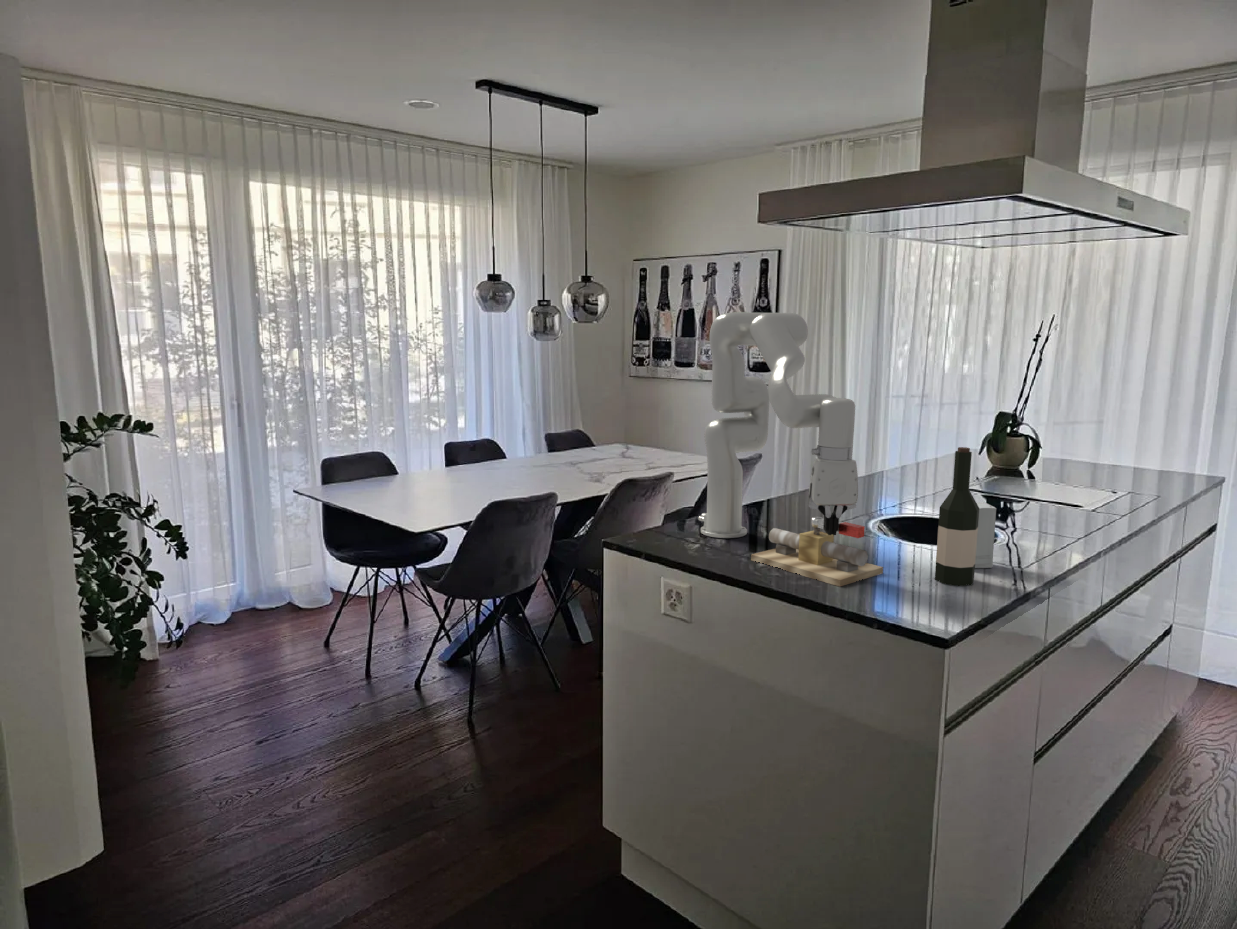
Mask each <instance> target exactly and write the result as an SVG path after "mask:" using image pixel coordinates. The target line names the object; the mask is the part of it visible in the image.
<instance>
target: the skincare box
mask: <svg viewBox="0 0 1237 929" xmlns="http://www.w3.org/2000/svg"><path fill="white" fill-rule="evenodd" d="M976 503H977V505H978V507H979V521H978V534H977V547H976V560H975V569H989V568H990V569H991V568H993V563H994V562H993V561H994V547H995V531H996V516H997V507H995V506H993V505H991V504H989V503H986V502H985V501H984V502H983V501H982V502H976Z"/></svg>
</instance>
